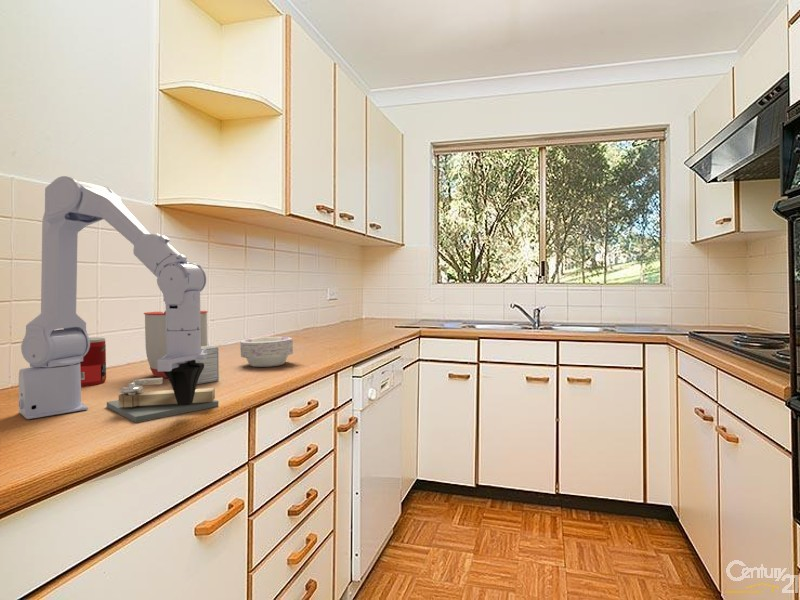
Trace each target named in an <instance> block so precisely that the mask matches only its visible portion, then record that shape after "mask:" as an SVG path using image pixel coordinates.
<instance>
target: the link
mask: <svg viewBox="0 0 800 600" xmlns="http://www.w3.org/2000/svg"><path fill="white" fill-rule="evenodd" d="M215 390H216V389H215V387H211V388H208V387H207V388H196V389H195V394H194V398H193V402H192V403H198V402H212V401H213V400H216V391H215ZM118 400H119V406H120V407H133V406H143V405H161V404H177V401H176V397H175V394H174V390H173V389H170V390H169V389H168V390H152V391H151V390H149V391H143V392H141V391H140V392H135V394H134V395H128V393H119V394H118Z"/></svg>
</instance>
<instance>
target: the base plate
mask: <svg viewBox="0 0 800 600" xmlns="http://www.w3.org/2000/svg"><path fill="white" fill-rule="evenodd" d="M215 407H217V408H218V407H219V400H216V399H214V400H213V401H212V402H198V403H192V404H190V405H178V404H161V405H143V406H136V407H133V408H128V407H120V406H119V399H117V400H116V399H115V400H112V401H106V408H108V409H110V410H111V411H113V412H115V413H117V414H118V415H121V416H122V417H125V418H126V419H128V420H129V421H132V422H134V423H140V422H145V421H150V420H155V419H160V418H165V417H166V418H167V417H169V416H170V417H171V416H175V415H181V414H185V413H190V412H195V411H200V410H205V409H210V408H215Z"/></svg>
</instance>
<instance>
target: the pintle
mask: <svg viewBox="0 0 800 600" xmlns="http://www.w3.org/2000/svg"><path fill="white" fill-rule="evenodd" d="M140 391H142V386H135V383H133V382H127V386H125V387H124V386H123V387H121V388H120V394H122V393H128V395H134V394H135V392H140ZM133 407H136V406H133ZM133 407H128V408H133Z"/></svg>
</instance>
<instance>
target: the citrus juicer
mask: <svg viewBox="0 0 800 600" xmlns="http://www.w3.org/2000/svg"><path fill="white" fill-rule="evenodd" d="M208 313H209V311H208V310H200V319H201V346H208ZM143 315H144V328H145V329H144V334H145V335H144V336H145V337H144V340H145V352H146V360H147V362H148V364H149V369H150V372H151V374H152V376H154V377H156V378H163V379H168V378H167V376H166V375H165V373H164V371H161V372H158V370H157V360H159V359H162V358H163V357H164V356H165V355H166V354H167V353H166V310H164V312H163V311H147V312H144V313H143Z"/></svg>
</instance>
